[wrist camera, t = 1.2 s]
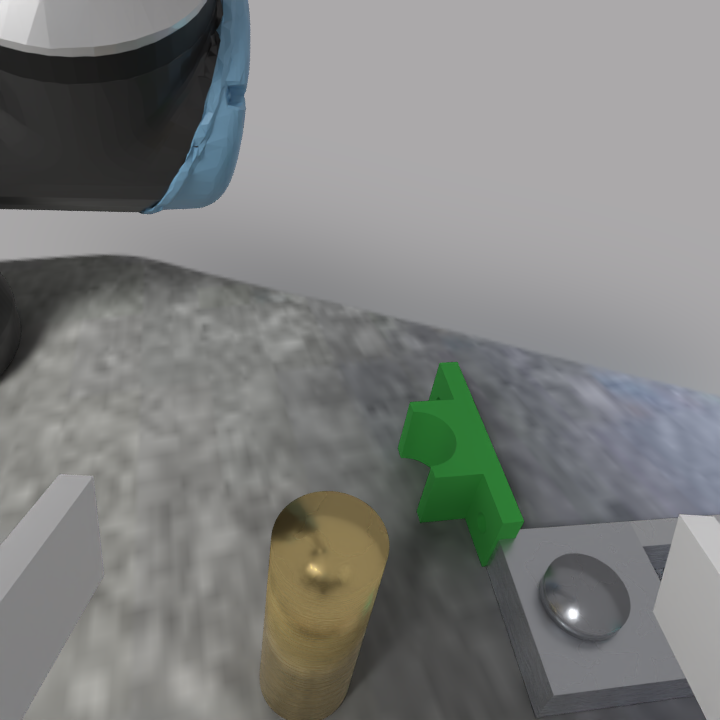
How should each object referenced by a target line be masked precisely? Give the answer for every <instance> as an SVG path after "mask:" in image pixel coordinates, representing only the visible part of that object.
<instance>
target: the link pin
mask: <svg viewBox="0 0 720 720" xmlns="http://www.w3.org/2000/svg"><path fill="white" fill-rule="evenodd" d="M388 555H389V537H388V533H387V530H386V527H385V525H384V523H383V521H382V520H381V518H380V517H379V516H378V514H377V513H376V512H375V511H374V510H373V509H372V508H371V507H370V506H369V505H367V504H366V503H365V502H363V501H361V500H360V499H358V498H356V497H353V496H351V495H348V494H345V493H340V492H333V491H321V492H314V493H310V494H307V495H304V496H302V497H300V498H298V499H296V500H294V501H293V502H291V503H290V504H289V505H288V506H286V507H285V508H284V509H283V511H282V512H281V513H280V514H279V516H278V518H277V519H276V522H275V524H274V527H273V530H272V536H271V547H270V559H269V571H268V583H267V594H266V606H265V618H264V630H263V642H262V654H261V666H260V686H261V690H262V693H263V696H264V698H265V700H266V702H267V703H268V705H269V706H270V707H271V709H273V710H274V711H275V712H276V713H277V714H278V715H280V716H281V717H283V718H285V719H287V720H322V719H324V718H326V717H328V716H329V715H331V714H332V713H333V712H334V711H335V710H337V708H338V707H339V706H340V705H341V703H342V702H343V700H344V698H345V696H346V694H347V691H348V687H349V684H350V681H351V677H352V674H353V671H354V668H355V664H356V661H357V658H358V654H359V651H360V648H361V644H362V641H363V638H364V635H365V631H366V628H367V625H368V621H369V618H370V615H371V611H372V608H373V605H374V602H375V598H376V595H377V592H378V588H379V585H380V582H381V578H382V575H383V572H384V569H385V565H386V562H387V559H388Z"/></svg>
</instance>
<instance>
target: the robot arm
mask: <svg viewBox="0 0 720 720" xmlns="http://www.w3.org/2000/svg"><path fill="white" fill-rule="evenodd" d="M249 62H250V14H249V4H248V0H0V209H23V210H27V209H28V210H67V211H109V212H110V211H111V212H139V213H141V214H153V213H156V212H159V211H161V210H167V209H190V208H201V207H205V206H208V205H210V204H212V203H213V202H215V201H216V200H218V199H219V198H220V197H221V195H222V194H223V193H224V192H225V190H226V188H227V187H228V185H229V183H230V181H231V178H232V176H233V173H234V170H235V166H236V163H237V159H238V154H239V150H240V145H241V140H242V134H243V128H244V119H245V110H246V107H245V98H244V94H245V92H246V88H247V81H248V75H249V65H250V63H249ZM20 337H21V324H20V319H19V315H18V311H17V307H16V304H15V300H14V296H13V293H12V291H11V289H10V287H9V284H8V283H7V281H6V279H5V278H4V276H3V275H2V274H1V273H0V375H1V374H2V373H3V372H4V371H5V369H6V368H7V367H8V365H9V364H10V362H11V361H12V359H13V357H14V355H15V353H16V351H17V348H18V345H19V342H20ZM103 576H104V567H103V558H102V549H101V540H100V531H99V521H98V512H97V503H96V494H95V485H94V476H85V475H70V474H59V475H58V477H57V478H56V479H55V480H54V481H53V483H52V484H51V485H50V486H49V487H48V489H47V490H46V491H45V492H44V493H43V495H42V496H41V497H40V498H39V500H38V501H37V502H36V503H35V504H34V506H33V507H32V508H31V509H30V510H29V512H28V513H27V514H26V515H25V516H24V518H23V519H22V520H21V521H20V522H19V524H18V525H17V526H16V527H15V528H14V530H13V531H12V532H11V533H10V534H9V536H8V537H7V538H6V539H5V541H4V542H3V543H2V544H1V545H0V720H22V718H23V716H24V715H25V713H26V711H27V709H28V708H29V706H30V704H31V702H32V701H33V699H34V697H35V695H36V694H37V692H38V690H39V688H40V687H41V685H42V683H43V681H44V680H45V678H46V676H47V674H48V673H49V671H50V669H51V667H52V666H53V664H54V662H55V660H56V659H57V657H58V655H59V653H60V652H61V650H62V648H63V646H64V645H65V643H66V641H67V639H68V638H69V636H70V634H71V632H72V631H73V629H74V627H75V625H76V624H77V622H78V620H79V618H80V617H81V615H82V613H83V611H84V609H85V608H86V606H87V604H88V602H89V601H90V599H91V597H92V595H93V594H94V592H95V590H96V588H97V587H98V585H99V583H100V581H101V580H102V578H103ZM653 613H654V615H655V617H656V619H657V621H658V623H659V625H660V627H661V629H662V631H663V633H664V635H665V637H666V639H667V641H668V643H669V645H670V647H671V649H672V651H673V653H674V655H675V657H676V659H677V661H678V663H679V665H680V667H681V669H682V671H683V673H684V675H685V677H686V679H687V681H688V683H689V685H690V687H691V689H692V691H693V693H694V695H695V697H696V699H697V701H698V703H699V705H700V707H701V709H702V711H703V713H704V715H705V718H706V720H720V524H719V523H718V521H717V520H716V519H715V517H713V516H697V515H682V514H679V517H678V521H677V525H676V529H675V532H674V536H673V540H672V543H671V547H670V551H669V554H668V558H667V562H666V565H665V569H664V573H663V577H662V580H661V584H660V588H659V591H658V595H657V599H656V602H655V606H654V610H653Z"/></svg>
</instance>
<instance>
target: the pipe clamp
mask: <svg viewBox="0 0 720 720" xmlns="http://www.w3.org/2000/svg"><path fill="white" fill-rule="evenodd" d="M398 450H399V454H400V457H401V458H410V459H415V460H418V461H420V462H422V463H424V464H426V465H427V466H428V467H430V468H431V469H430V472H429V475H428V478H427V481H426V484H425V487H424V490H423V493H422V496H421V500H420V503H419V506H418V509H417V514H418V517H419V521H420V523H422V522H433V521H443V520H453V519H464V518H465V520H466V523H467V526H468V528H469V531H470V534H471V537H472V540H473V543H474V545H475V548H476V551H477V554H478V557H479V560H480V562H481V565H482V567H484V566H486V565H487V563H488V561H489V559H490V557H491V555H492V553H493V551H494V549H495V547H496V545H497V543H498V541H499V540H502V539H511V538H516V536H517V534H518V532H519V530H520V529H521V527H522V525H523V523H524V520H523V517H522V515H521V512H520V510H519V508H518V505H517V503H516V501H515V498H514V496H513V493H512V491H511V489H510V486H509V484H508V481H507V479H506V477H505V474H504V472H503V470H502V467H501V465H500V462H499V460H498V458H497V455H496V453H495V450H494V448H493V446H492V443H491V441H490V439H489V436H488V434H487V431H486V429H485V427H484V424H483V422H482V420H481V417H480V415H479V412H478V410H477V408H476V405H475V403H474V400H473V398H472V396H471V393H470V391H469V389H468V386H467V384H466V381H465V379H464V377H463V374H462V372H461V369H460V367H459V365H458V362H447V363H440V364H439V367H438V371H437V374H436V377H435V381H434V384H433V388H432V391H431V395H430V398H429V401H418V402H410V404H409V408H408V412H407V416H406V419H405V423H404V427H403V431H402V435H401V438H400V442H399V446H398Z"/></svg>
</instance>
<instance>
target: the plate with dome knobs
mask: <svg viewBox="0 0 720 720" xmlns="http://www.w3.org/2000/svg"><path fill="white" fill-rule="evenodd" d="M707 516H713V517H715V519H716V520H717V521H718V523H719V524H720V515H707ZM677 521H678V518H667V519H653V520H640V521H626V522H613V523H599V524H586V525H572V526H559V527H545V528H532V529H520V530H519V532H518V534H517V536H516V538H511V539H502V540H499V541H498V543H497V545H496V547H495V549H494V551H493V553H492V555H491V557H490V559H489V561H488V563H487V565H486V567H487V570H488V573H489V576H490V579H491V582H492V586H493V589H494V592H495V595H496V598H497V601H498V604H499V607H500V610H501V613H502V616H503V619H504V622H505V625H506V628H507V632H508V635H509V638H510V641H511V644H512V647H513V650H514V653H515V656H516V659H517V662H518V665H519V668H520V671H521V674H522V678H523V681H524V684H525V687H526V690H527V693H528V696H529V699H530V702H531V705H532V708H533V711H534V714H535V717H536V718H537V717H545V716H552V715H559V714H566V713H574V712H581V711H588V710H596V709H603V708H610V707H617V706H625V705H632V704H639V703H647V702H654V701H661V700H668V699H676V698H683V697H690V696H695V695H694V693H693V691H692V689H691V687H690V685H689V683H688V681H687V679H686V677H685V675H684V673H683V671H682V669H681V667H680V665H679V663H678V661H677V659H676V657H675V655H674V653H673V651H672V649H671V647H670V645H669V643H668V641H667V639H666V637H665V635H664V633H663V631H662V629H661V627H660V625H659V623H658V621H657V619H656V617H655V615H654V613H653V610H654V606H655V602H656V599H657V595H658V591H659V588H660V584H661V581H660V579H659V577H658V575H657V574H656V572H655V570H654V569H658V568H665V565H666V562H667V558H668V554H669V551H670V547H671V543H672V540H673V536H674V532H675V529H676V525H677Z"/></svg>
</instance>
